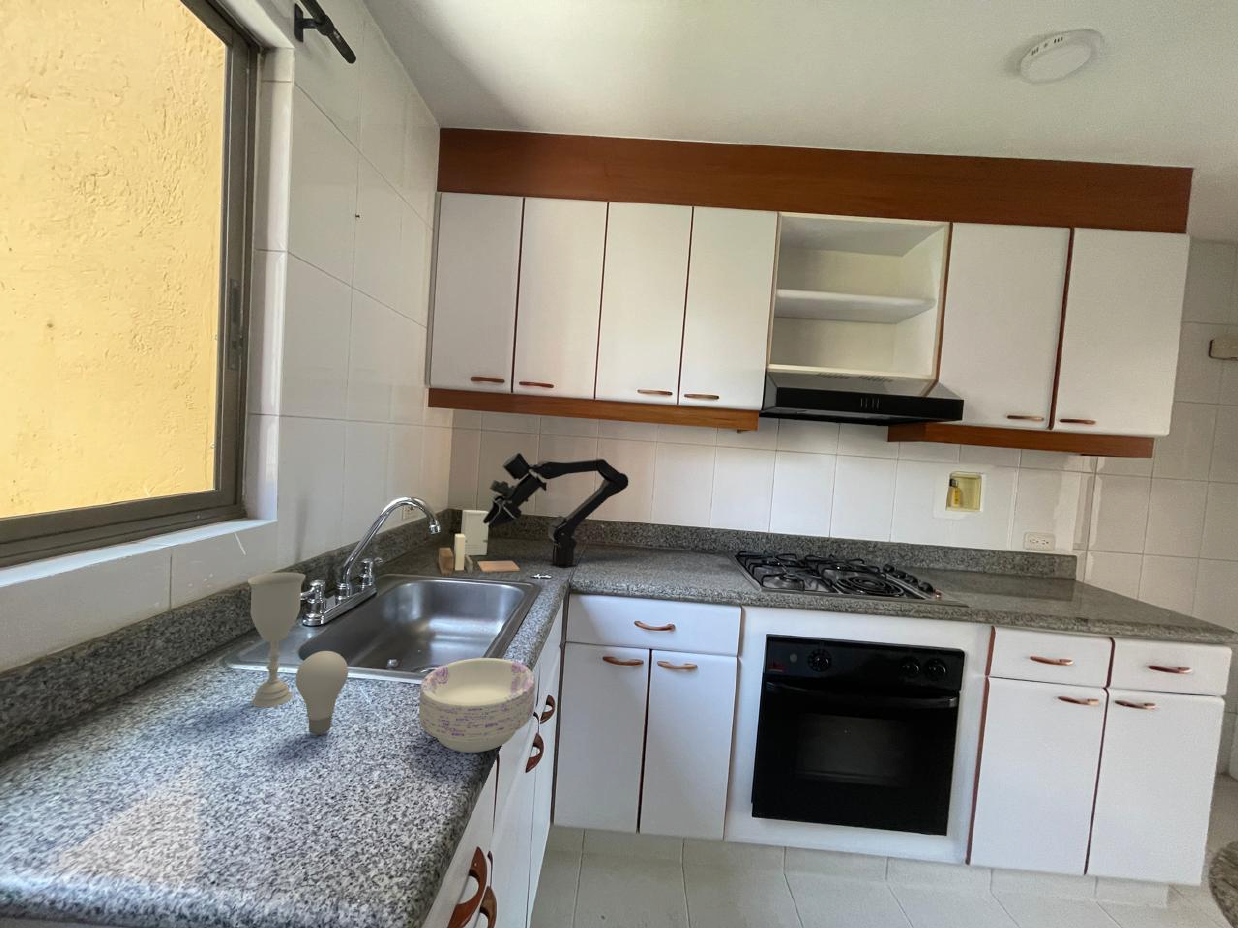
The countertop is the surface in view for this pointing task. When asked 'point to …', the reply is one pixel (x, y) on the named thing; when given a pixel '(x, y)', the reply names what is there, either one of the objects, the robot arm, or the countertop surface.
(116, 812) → the countertop surface
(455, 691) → the paper bowls
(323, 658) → the lightbulb
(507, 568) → the terracotta pad
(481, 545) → the skincare box
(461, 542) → the cream rectangular block
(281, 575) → the chalice
